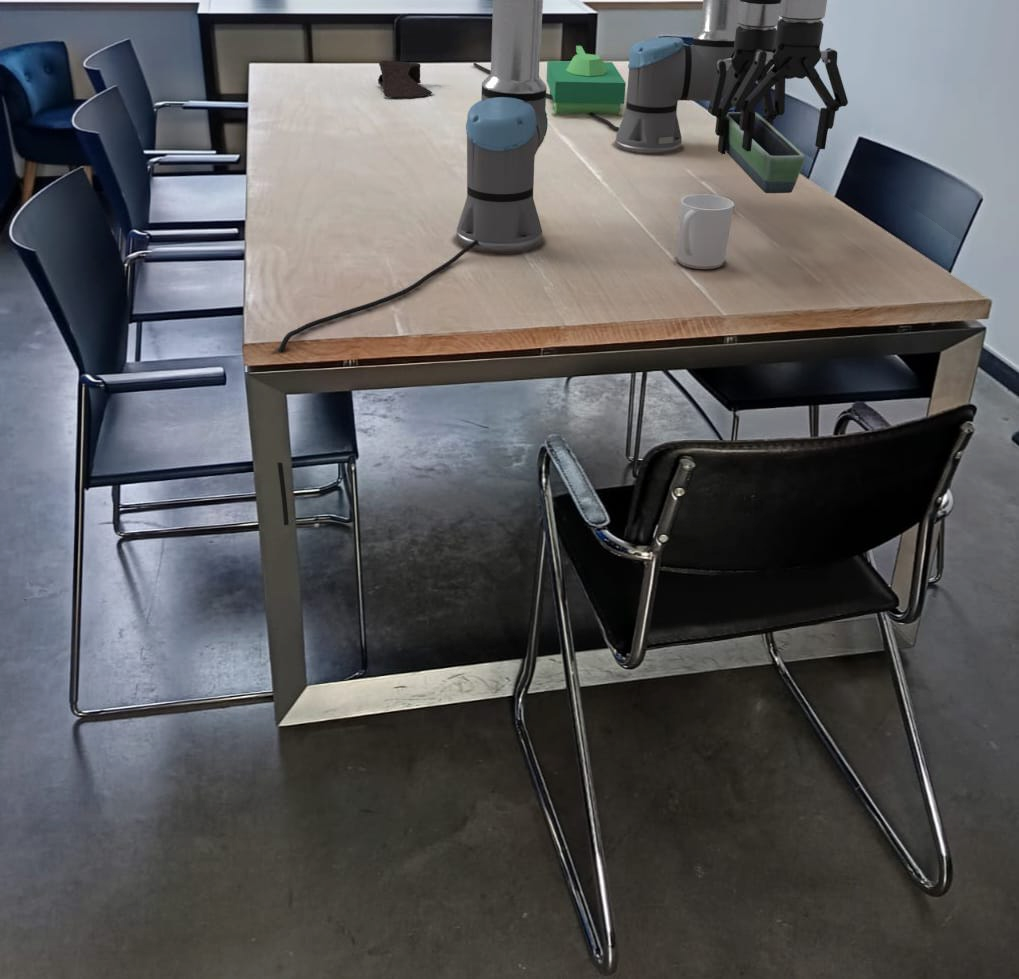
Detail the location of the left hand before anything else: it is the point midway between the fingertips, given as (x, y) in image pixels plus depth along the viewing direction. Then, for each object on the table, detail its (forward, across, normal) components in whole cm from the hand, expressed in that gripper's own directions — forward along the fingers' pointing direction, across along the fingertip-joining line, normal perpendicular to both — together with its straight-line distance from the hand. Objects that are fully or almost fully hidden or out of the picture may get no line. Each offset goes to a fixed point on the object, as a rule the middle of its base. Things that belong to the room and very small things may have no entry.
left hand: (783, 148), depth 194 cm
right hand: (+6, 0, -21) cm, 21 cm away
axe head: (+15, +61, -126) cm, 141 cm away
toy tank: (+15, +14, -110) cm, 112 cm away
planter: (+7, 0, -11) cm, 13 cm away
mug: (+16, +18, +14) cm, 28 cm away
